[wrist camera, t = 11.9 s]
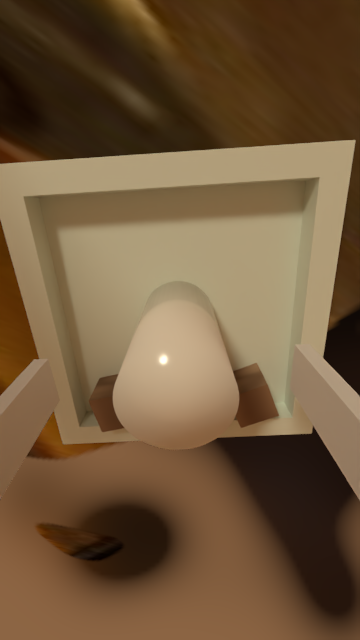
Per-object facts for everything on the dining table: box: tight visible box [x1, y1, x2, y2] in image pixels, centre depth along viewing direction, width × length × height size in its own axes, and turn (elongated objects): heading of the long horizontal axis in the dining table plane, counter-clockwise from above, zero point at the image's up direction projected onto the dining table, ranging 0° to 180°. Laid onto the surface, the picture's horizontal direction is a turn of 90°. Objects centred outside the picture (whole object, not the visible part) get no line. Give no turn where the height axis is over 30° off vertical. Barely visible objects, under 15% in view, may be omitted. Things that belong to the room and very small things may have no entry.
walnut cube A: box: [89, 374, 124, 432], centre depth 26 cm, size 4×4×4 cm
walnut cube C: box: [233, 363, 279, 428], centre depth 25 cm, size 4×4×4 cm
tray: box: [0, 140, 355, 444], centre depth 24 cm, size 24×24×3 cm
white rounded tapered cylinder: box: [113, 281, 239, 450], centre depth 19 cm, size 6×6×12 cm
